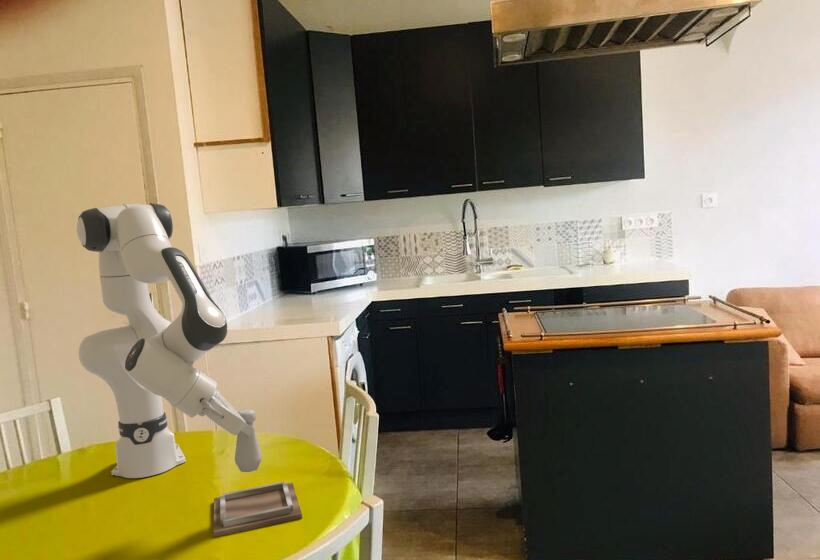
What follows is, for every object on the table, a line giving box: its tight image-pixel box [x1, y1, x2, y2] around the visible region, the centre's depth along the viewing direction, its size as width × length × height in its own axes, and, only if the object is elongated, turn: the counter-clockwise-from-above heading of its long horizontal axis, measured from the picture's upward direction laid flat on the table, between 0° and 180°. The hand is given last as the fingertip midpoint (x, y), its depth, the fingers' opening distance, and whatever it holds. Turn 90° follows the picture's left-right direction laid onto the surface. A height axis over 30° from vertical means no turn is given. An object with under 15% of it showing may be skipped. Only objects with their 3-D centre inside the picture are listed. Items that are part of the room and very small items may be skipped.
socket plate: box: [213, 481, 303, 538], centre depth 149 cm, size 18×18×2 cm
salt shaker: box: [234, 408, 262, 473], centre depth 147 cm, size 6×6×13 cm
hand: (249, 429), depth 147 cm, fingers closed on salt shaker, 3 cm apart
